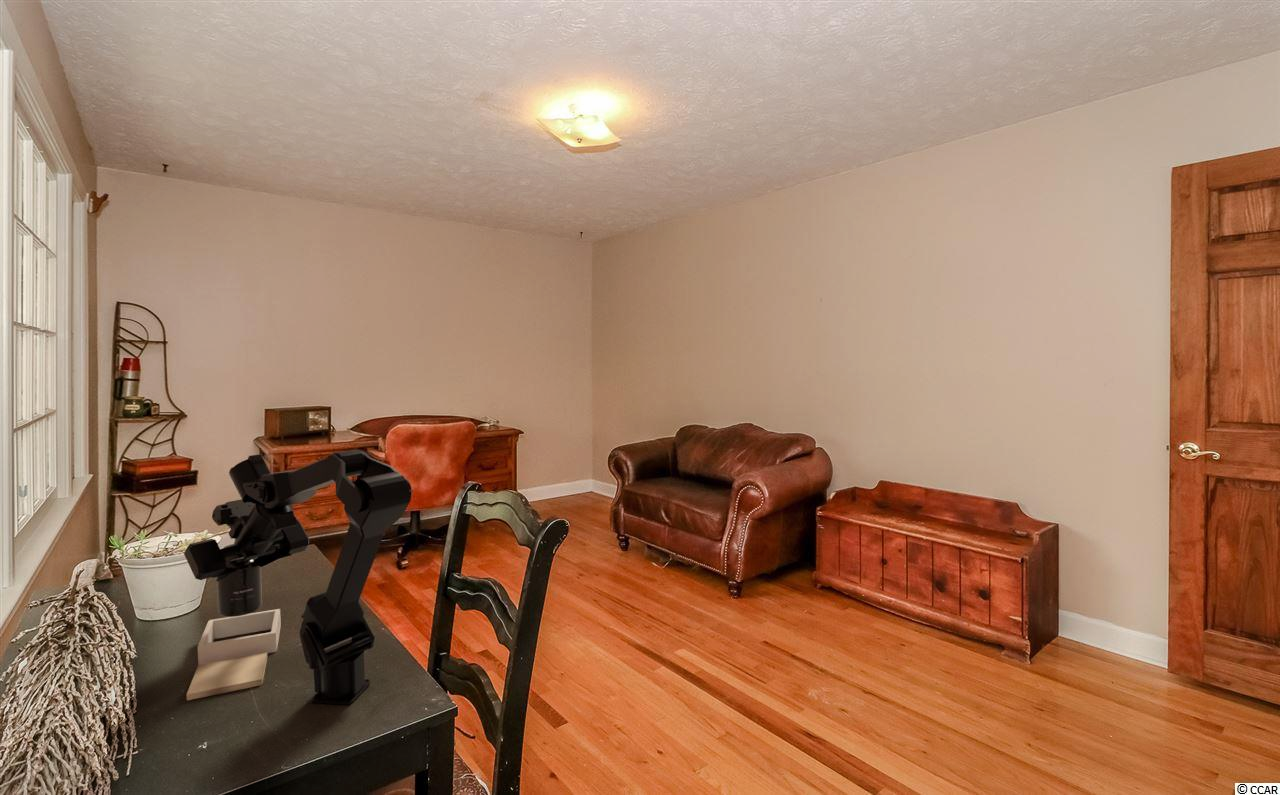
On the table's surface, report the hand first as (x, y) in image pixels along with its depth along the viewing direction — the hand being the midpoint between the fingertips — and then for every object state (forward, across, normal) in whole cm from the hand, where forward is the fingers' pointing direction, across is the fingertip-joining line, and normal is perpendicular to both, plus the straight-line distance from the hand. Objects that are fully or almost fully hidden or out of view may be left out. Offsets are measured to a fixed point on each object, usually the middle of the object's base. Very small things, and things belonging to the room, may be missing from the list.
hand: (235, 573), depth 113 cm
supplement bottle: (+4, 0, +6) cm, 7 cm away
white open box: (+9, 0, +10) cm, 13 cm away
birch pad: (+1, +7, +18) cm, 19 cm away
